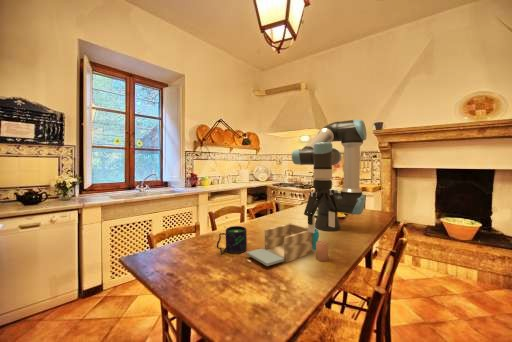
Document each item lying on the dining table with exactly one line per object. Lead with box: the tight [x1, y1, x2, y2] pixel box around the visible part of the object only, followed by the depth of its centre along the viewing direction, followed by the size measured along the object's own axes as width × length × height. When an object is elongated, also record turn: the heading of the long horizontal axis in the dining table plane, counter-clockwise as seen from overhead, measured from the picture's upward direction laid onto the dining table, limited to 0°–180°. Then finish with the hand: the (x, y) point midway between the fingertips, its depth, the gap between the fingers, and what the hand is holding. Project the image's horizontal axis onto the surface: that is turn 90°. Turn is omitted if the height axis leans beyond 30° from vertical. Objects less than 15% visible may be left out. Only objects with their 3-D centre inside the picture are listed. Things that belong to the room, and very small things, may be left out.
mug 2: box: [313, 228, 320, 250], centre depth 114 cm, size 12×8×8 cm
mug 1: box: [216, 225, 248, 255], centre depth 108 cm, size 15×10×10 cm, turn 117°
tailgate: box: [246, 247, 285, 267], centre depth 98 cm, size 1×14×10 cm
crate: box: [264, 223, 314, 263], centre depth 106 cm, size 17×14×10 cm
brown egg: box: [315, 240, 329, 263], centre depth 98 cm, size 5×5×7 cm
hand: (321, 229), depth 98 cm, fingers open, 13 cm apart
